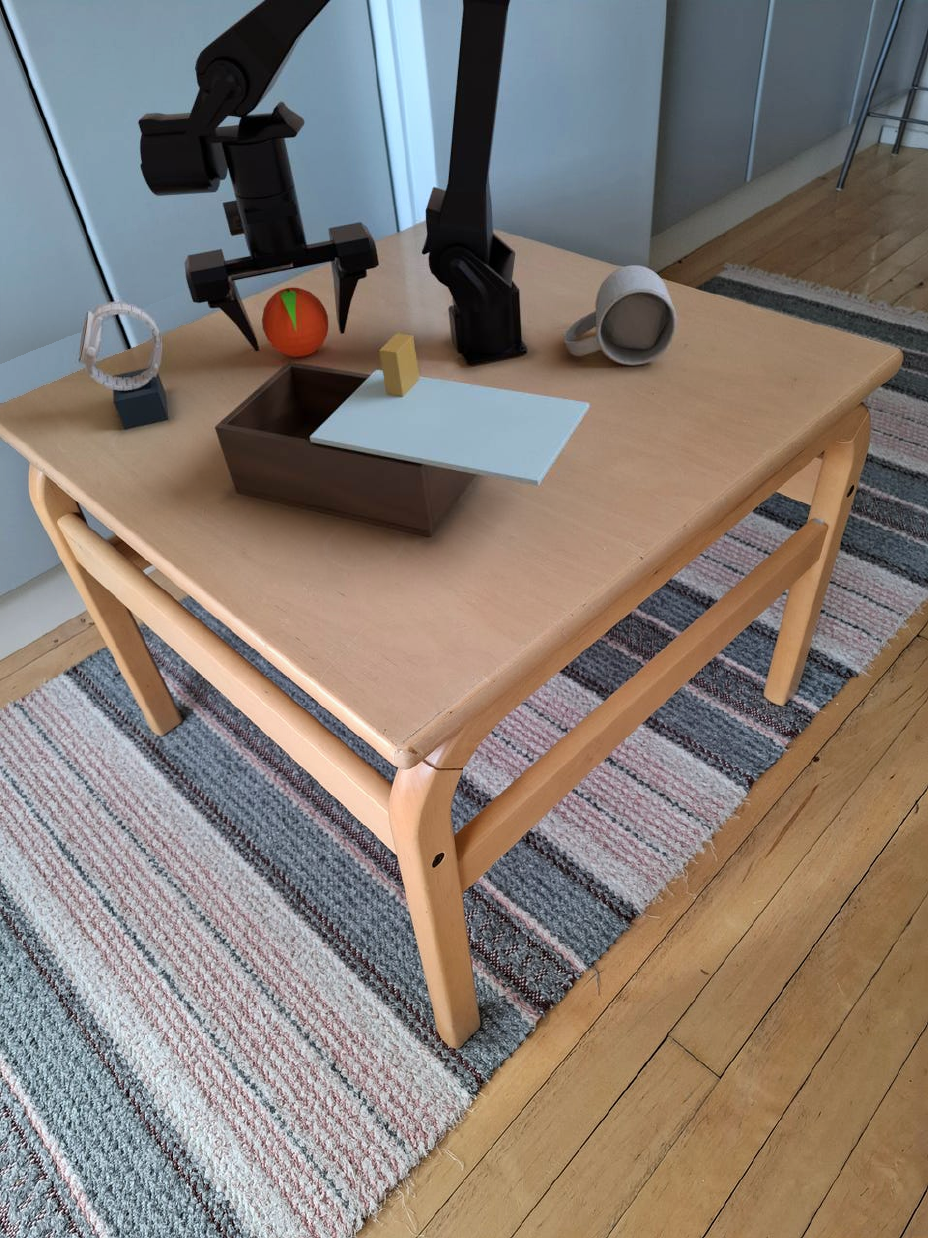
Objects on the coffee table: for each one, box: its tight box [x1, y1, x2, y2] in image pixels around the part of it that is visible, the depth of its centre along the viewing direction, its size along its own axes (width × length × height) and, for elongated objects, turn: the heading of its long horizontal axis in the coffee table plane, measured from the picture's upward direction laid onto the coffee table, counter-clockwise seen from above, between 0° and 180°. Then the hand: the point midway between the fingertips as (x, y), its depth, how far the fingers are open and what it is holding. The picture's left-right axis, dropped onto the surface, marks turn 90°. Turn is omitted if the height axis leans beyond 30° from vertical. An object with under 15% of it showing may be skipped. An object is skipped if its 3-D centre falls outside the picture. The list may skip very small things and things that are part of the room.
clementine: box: [261, 286, 329, 358], centre depth 95 cm, size 8×7×7 cm
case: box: [214, 361, 478, 538], centre depth 78 cm, size 11×19×7 cm, turn 65°
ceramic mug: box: [563, 264, 678, 366], centre depth 90 cm, size 11×8×8 cm
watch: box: [78, 301, 169, 430], centre depth 88 cm, size 6×8×11 cm
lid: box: [310, 333, 590, 487], centre depth 70 cm, size 11×19×4 cm, turn 65°
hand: (299, 340), depth 96 cm, fingers open, 9 cm apart
